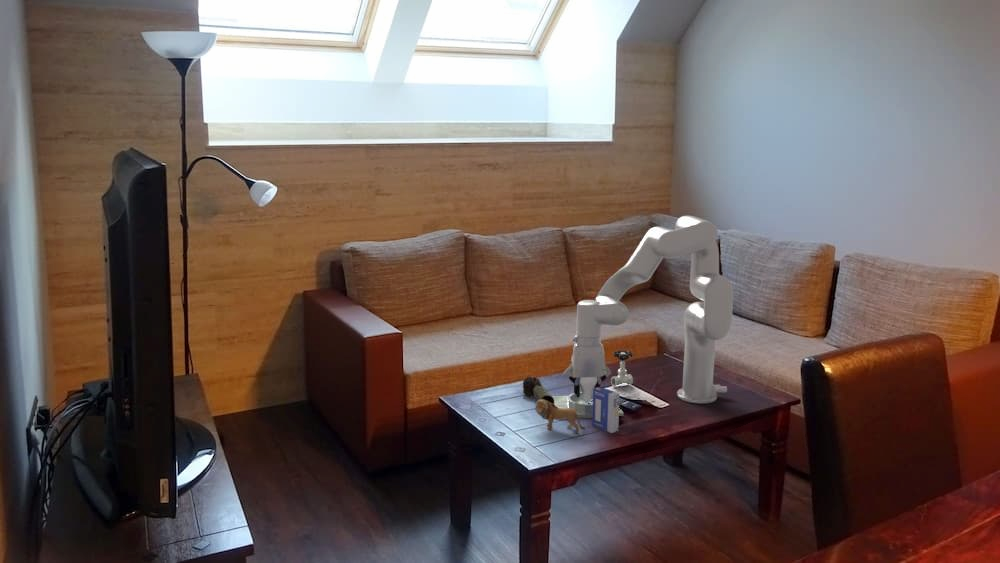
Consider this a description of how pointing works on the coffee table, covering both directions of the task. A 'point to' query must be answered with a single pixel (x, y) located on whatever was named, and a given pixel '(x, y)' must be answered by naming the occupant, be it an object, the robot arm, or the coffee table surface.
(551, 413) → the lion figurine
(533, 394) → the brown camo elongated piece
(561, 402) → the duct collar
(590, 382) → the lightbulb
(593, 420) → the walkman
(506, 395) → the coffee table surface
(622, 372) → the valve
